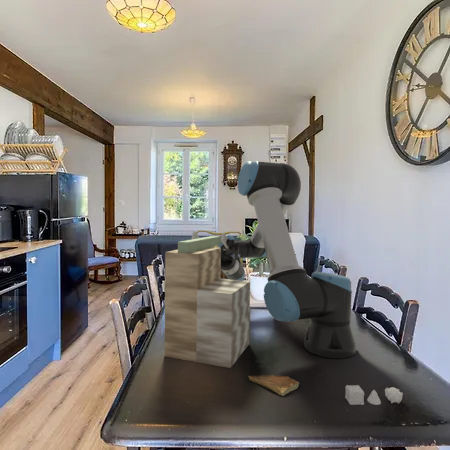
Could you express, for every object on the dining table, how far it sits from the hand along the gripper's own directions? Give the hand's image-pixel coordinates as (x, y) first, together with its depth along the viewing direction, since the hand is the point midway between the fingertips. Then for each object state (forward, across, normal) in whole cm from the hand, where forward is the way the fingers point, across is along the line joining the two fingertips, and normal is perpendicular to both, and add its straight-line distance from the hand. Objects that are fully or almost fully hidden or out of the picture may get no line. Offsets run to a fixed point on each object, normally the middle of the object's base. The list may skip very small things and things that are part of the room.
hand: (207, 235), depth 113 cm
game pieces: (+2, -50, -41) cm, 65 cm away
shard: (+4, -28, -42) cm, 50 cm away
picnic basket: (-93, +30, +14) cm, 99 cm away
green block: (+2, 0, -6) cm, 6 cm away
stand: (-8, -5, -34) cm, 35 cm away
